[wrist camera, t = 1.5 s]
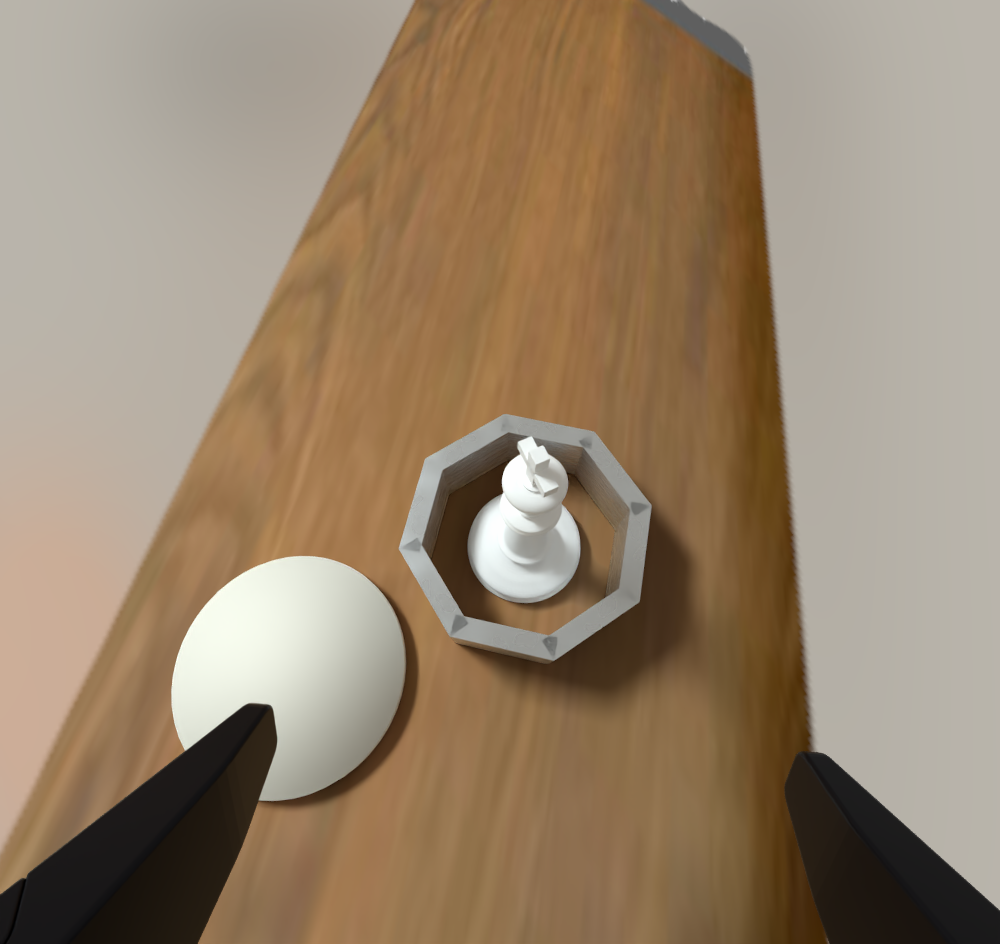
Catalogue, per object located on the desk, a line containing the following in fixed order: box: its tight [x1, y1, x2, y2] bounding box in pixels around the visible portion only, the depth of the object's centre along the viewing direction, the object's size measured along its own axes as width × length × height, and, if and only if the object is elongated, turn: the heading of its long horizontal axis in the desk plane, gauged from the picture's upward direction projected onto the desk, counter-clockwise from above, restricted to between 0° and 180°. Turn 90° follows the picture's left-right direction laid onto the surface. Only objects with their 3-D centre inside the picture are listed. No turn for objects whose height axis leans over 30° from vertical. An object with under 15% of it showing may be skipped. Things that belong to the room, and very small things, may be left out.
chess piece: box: [467, 436, 580, 603], centre depth 19 cm, size 5×5×10 cm
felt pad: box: [172, 556, 406, 801], centre depth 22 cm, size 9×9×1 cm
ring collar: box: [399, 414, 652, 664], centre depth 23 cm, size 9×9×3 cm
